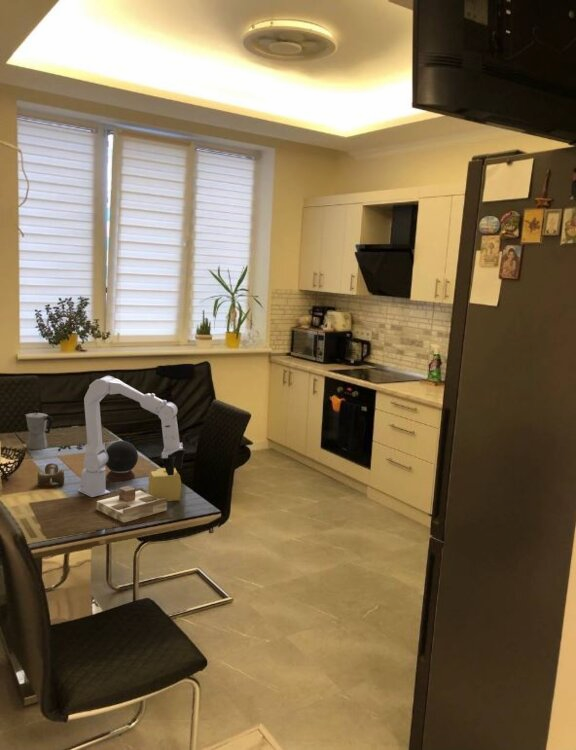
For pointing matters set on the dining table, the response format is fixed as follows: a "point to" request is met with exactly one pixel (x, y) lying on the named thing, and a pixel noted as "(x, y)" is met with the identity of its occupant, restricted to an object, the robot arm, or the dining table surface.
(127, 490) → the walnut cube
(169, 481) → the cheese
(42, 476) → the kendama
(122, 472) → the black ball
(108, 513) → the divided wooden tray
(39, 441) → the coffeepot
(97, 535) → the dining table surface
